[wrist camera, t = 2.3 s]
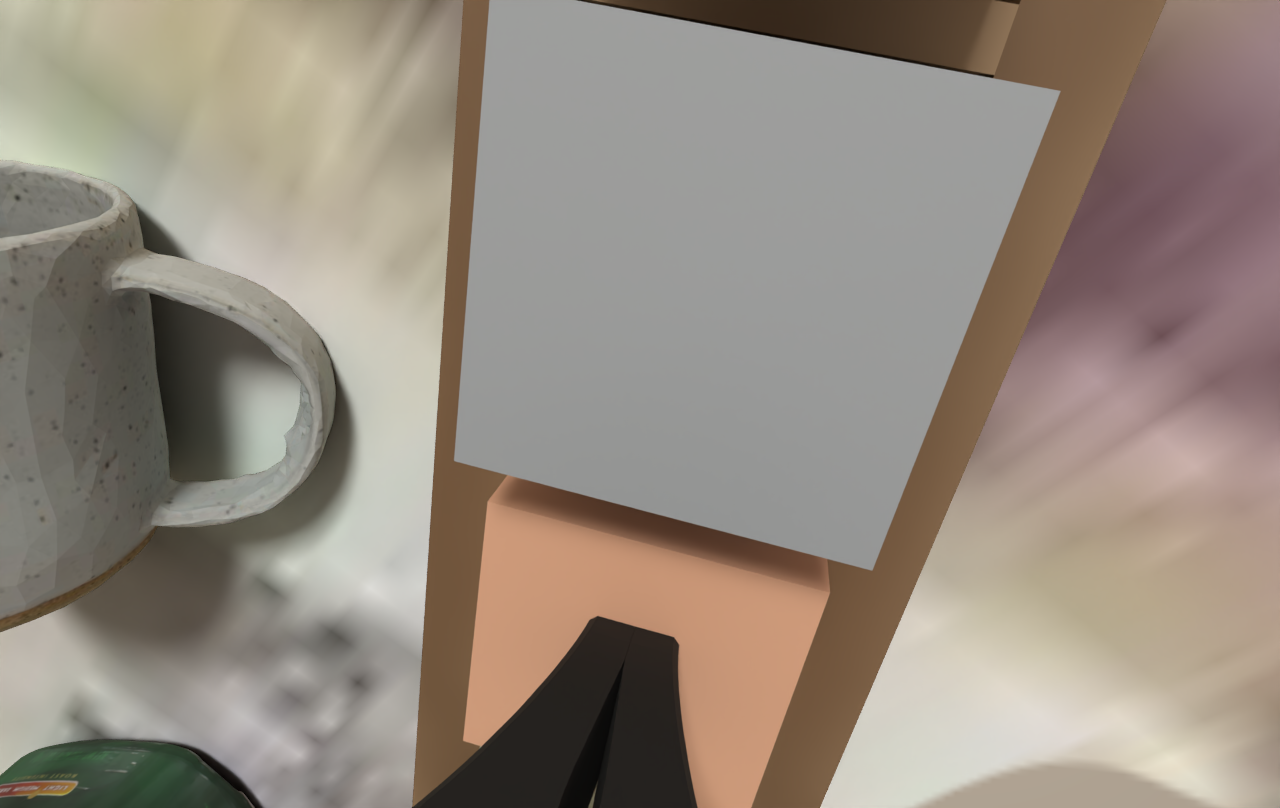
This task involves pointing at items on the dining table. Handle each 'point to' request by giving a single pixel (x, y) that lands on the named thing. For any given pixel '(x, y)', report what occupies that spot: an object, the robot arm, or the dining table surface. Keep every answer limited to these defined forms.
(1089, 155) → the keypad frame
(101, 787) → the coffee jar
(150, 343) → the ceramic mug
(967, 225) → the key slate
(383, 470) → the dining table surface
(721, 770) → the key terracotta
